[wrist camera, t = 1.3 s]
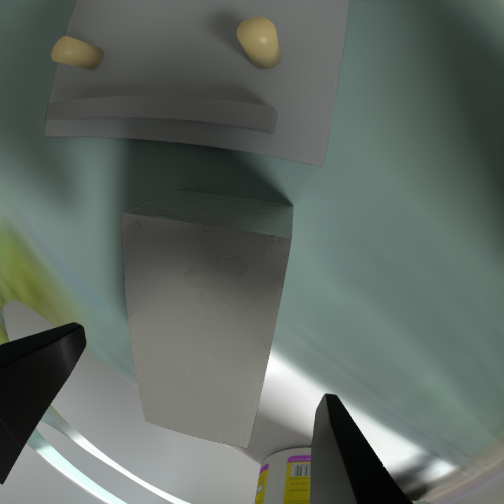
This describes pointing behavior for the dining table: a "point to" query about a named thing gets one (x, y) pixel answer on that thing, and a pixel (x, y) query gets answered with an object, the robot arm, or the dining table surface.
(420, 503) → the cereal bowl
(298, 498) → the supplement bottle
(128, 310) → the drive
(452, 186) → the dining table surface
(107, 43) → the tray
